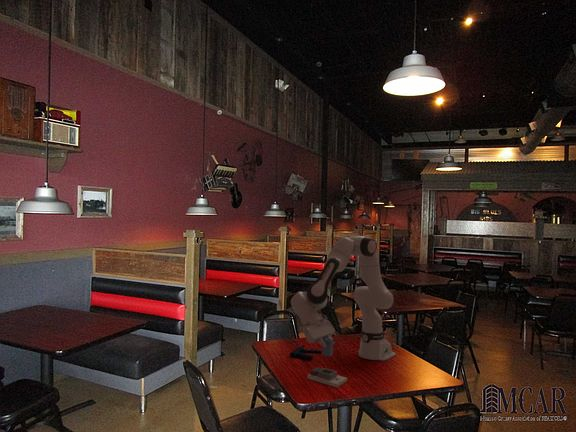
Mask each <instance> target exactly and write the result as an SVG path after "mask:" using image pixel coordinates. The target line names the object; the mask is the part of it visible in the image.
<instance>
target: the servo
mask: <svg viewBox="0 0 576 432" xmlns="http://www.w3.org/2000/svg"><path fill="white" fill-rule="evenodd" d="M323 341H324V342H325V343H327V344H328V346H327V347H326V348H324V347H323V346H322V349H321V351H322V353H321V355H322V356H326V357H328V358H329V357H331V356H333V355H334V344H336V341H334V338H333V337H332V336H331V337H328V338H324V339H323Z"/></svg>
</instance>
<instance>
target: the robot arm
mask: <svg viewBox="0 0 576 432" xmlns="http://www.w3.org/2000/svg"><path fill="white" fill-rule="evenodd" d="M352 256H353V257H354V256H355V257H359V259H358V260H359V261H358V263H359V264H358V265H359V270H360V279H361V280H362V281H363V283H365V285H364V286H363V285H362V286H357V287H356V288H355V289H354V291H353V296H352V297H353V300H354V301H355V302H356V304H357V305H358V307H359V310H360V314H361V319H362V321H361V323H362V325H361V326H362V327H361V328H362V329H361V339H360V344H359V349H358V356H359V357H360V358H363V359H366V360H371V361H387V360H389V359H391V358H393V357H395V356H396V355H397V353H396V352H394V351H393V349H392V344H391V342H389V341H388V339H386V338H385V337H386V336H387V335H388V332H387V331H383V317H382V315H380V314H379V312H378V311H377V309H381V310H387V309H390V308H392V306H393V304H394V301H395V300H394V294H393V293H392V292H391V291H390V290H389V289H388V288H387V287H386V285H385V283H384V281H383V278H382V274H381V267H380V259H379V254H378V251H377V243H376V241H375V239H374V238H373V237H370V236H363V235H346V236H342V237H340V238H339V239H338V240H337V241H336V242H335V243H334V245H333V246H332V247H331V250H330V252H329V253H328V255H327V258H326V261H325V265H324V267H323V269H322V271H321V272H320V274H319V276H318V277H317V279H316V280H314V281H313V282H312V283H311V284H310V285H309V286H308V287H307V289H306V291H298V292H296V293H295V294H294V295H293V296H292V297H291V300H290V304H291V308H292V309H293V312H294V313H295V314H296V315H297V316H298V317H299V319H300V321H301V323H302V325H301V329H302V332H303V334H304V337H305V339H306V340H307V342H308V343H309V344H312V343H315V342H318V344H320V345H321V346H322V348H323V347H324V348H326V347H327V346H328V344H327V343H325V342H324V341H323V339H324V338H328V337H332V336H333V335H334V334H335V333H336V329H335V328H334V325H332V323H331V322H330V321H329V320H328V317H327V315H326V314H321V313H318V312H317V311H319V310H321V309H323V308H325V307H326V306H327V303H328V292H329V286H330V283H331V282H332V279H333V278H334V276H335V274H337V273H341V272H343V271H344V270H345V269H346V267H347V266H348V264H349V262H350V260H351V258H352Z"/></svg>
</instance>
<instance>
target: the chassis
mask: <svg viewBox="0 0 576 432" xmlns="http://www.w3.org/2000/svg"><path fill="white" fill-rule="evenodd" d="M306 378H307V380H311V381H314V382H317V383H321V384H324V385H328V386H330V387H334V388H338V387H341V386H342V385H343V384H344V383H347V382H348V377H345V376H342V375H339V374H338V371H337V370H334V369H329V368H326V367H324V368H321V367H315V368H313V369H310V373H309V374H307V377H306Z"/></svg>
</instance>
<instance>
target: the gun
mask: <svg viewBox="0 0 576 432" xmlns="http://www.w3.org/2000/svg"><path fill="white" fill-rule="evenodd" d="M311 354H315V355H316V354H320V355H322V350H319V349H305V344H304V345H303V344H302V345H301V346H298V347H296V348H295V349H294V350H293V351H291V352H290V353H289V356H290V357H291V358H297V359H300V360H304V361H307V362H311V361H312V360H313V359H314V355H311Z"/></svg>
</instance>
